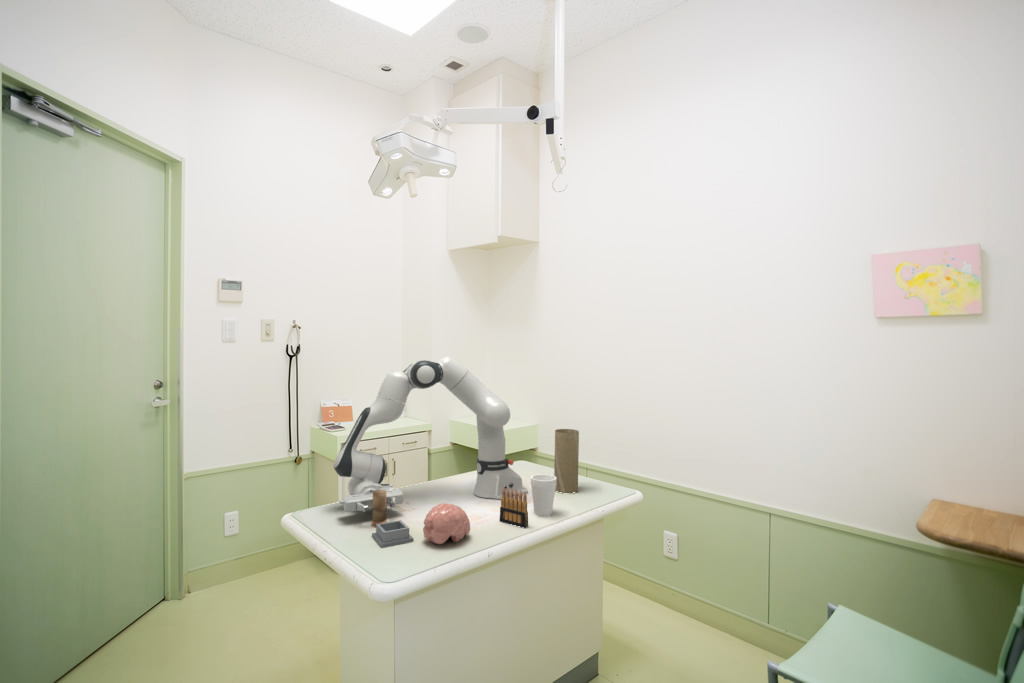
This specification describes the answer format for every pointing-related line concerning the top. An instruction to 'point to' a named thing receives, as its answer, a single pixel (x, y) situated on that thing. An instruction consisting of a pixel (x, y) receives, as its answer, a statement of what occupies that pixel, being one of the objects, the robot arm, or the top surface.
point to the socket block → (392, 534)
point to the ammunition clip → (514, 508)
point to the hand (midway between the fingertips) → (379, 507)
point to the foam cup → (543, 493)
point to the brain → (446, 523)
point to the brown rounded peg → (379, 507)
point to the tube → (566, 460)
